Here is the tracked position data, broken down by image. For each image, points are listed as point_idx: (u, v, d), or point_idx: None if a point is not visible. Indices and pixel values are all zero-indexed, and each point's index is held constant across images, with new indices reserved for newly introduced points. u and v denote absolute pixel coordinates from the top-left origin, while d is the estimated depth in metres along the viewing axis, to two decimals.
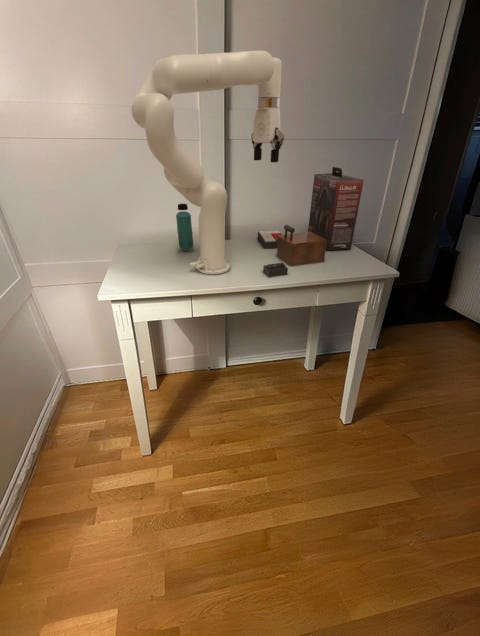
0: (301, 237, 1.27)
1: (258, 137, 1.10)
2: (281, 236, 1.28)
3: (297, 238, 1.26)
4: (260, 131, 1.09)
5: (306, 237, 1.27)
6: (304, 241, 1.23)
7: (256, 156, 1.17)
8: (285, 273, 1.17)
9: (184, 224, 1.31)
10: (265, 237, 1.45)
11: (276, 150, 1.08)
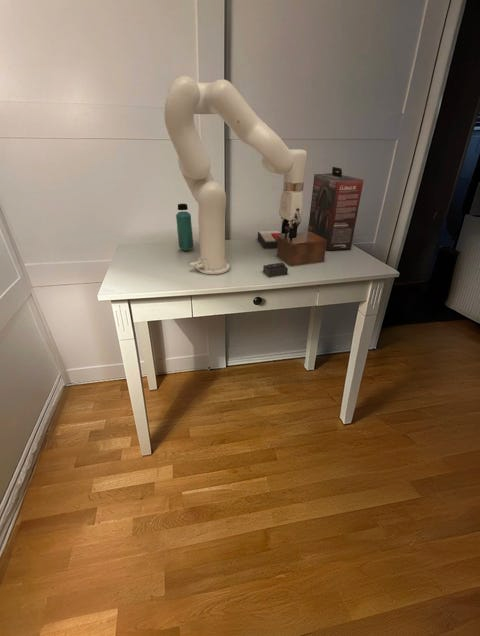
0: (301, 237, 1.27)
1: (282, 213, 1.20)
2: (281, 236, 1.28)
3: (297, 238, 1.26)
4: (284, 209, 1.19)
5: (306, 237, 1.27)
6: (304, 241, 1.23)
7: (283, 230, 1.26)
8: (285, 273, 1.17)
9: (184, 224, 1.31)
10: (265, 237, 1.45)
11: (294, 229, 1.19)
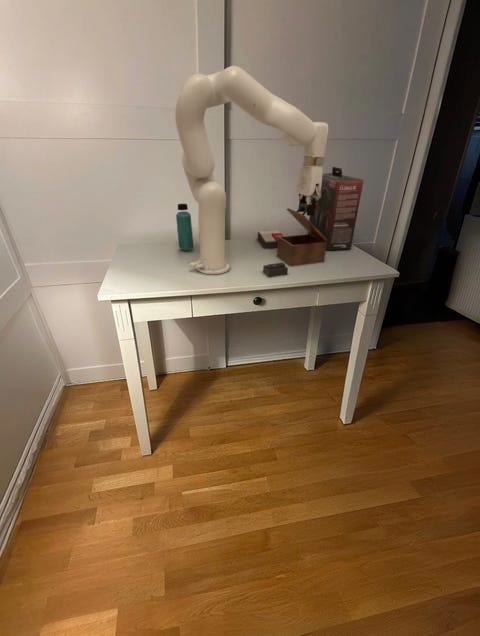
0: (307, 224, 1.25)
1: (301, 190, 1.18)
2: None
3: (305, 221, 1.23)
4: (303, 185, 1.17)
5: (311, 227, 1.26)
6: None
7: None
8: (285, 273, 1.17)
9: (184, 224, 1.31)
10: (265, 237, 1.45)
11: (312, 205, 1.17)
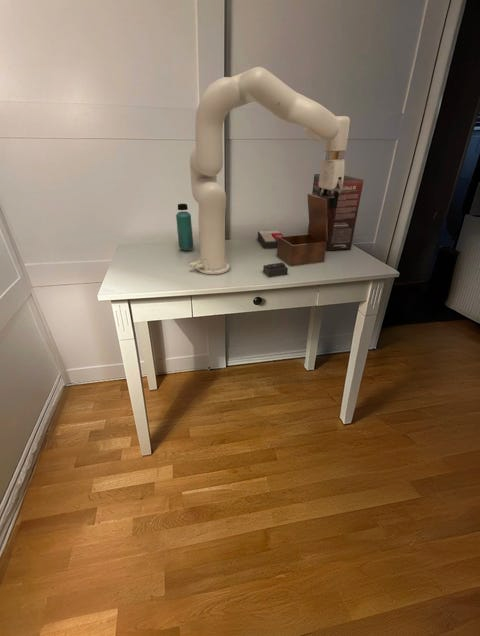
0: None
1: (322, 184, 1.20)
2: None
3: None
4: (325, 179, 1.19)
5: None
6: None
7: None
8: (285, 273, 1.17)
9: (184, 224, 1.31)
10: (265, 237, 1.45)
11: (335, 198, 1.19)
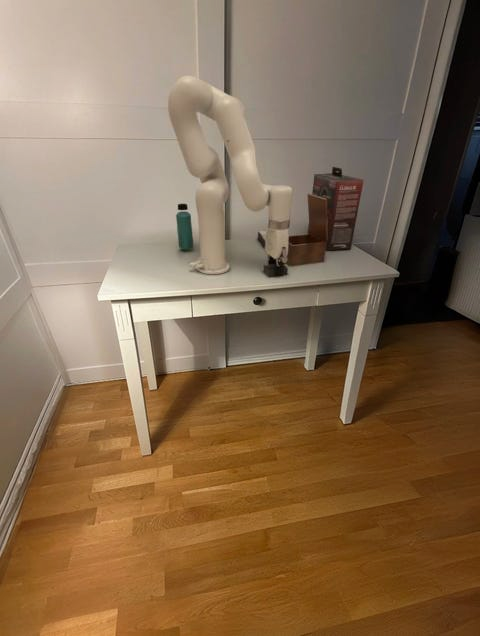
0: None
1: (268, 250, 1.14)
2: None
3: None
4: (269, 246, 1.12)
5: None
6: None
7: None
8: (285, 273, 1.17)
9: (184, 224, 1.31)
10: (265, 237, 1.45)
11: (280, 267, 1.13)
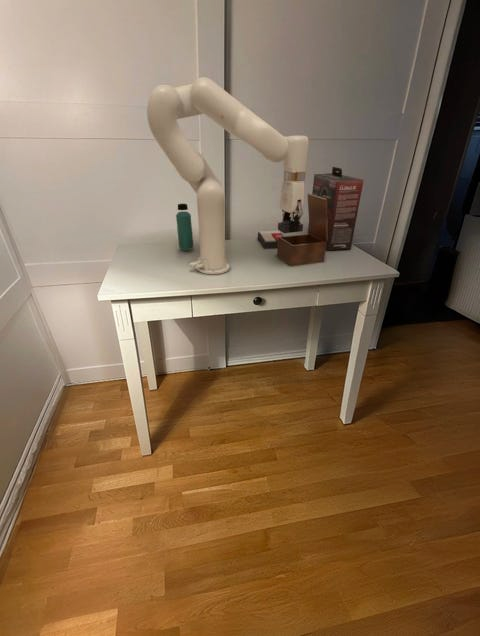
0: None
1: (283, 205, 1.12)
2: None
3: None
4: (284, 200, 1.11)
5: None
6: None
7: None
8: (300, 230, 1.15)
9: (184, 224, 1.31)
10: (265, 237, 1.45)
11: (295, 222, 1.11)
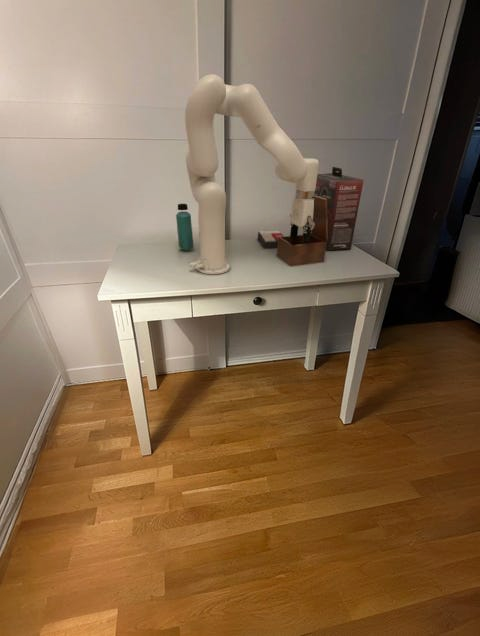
0: None
1: (293, 220, 1.23)
2: None
3: None
4: (295, 216, 1.22)
5: None
6: None
7: (292, 233, 1.30)
8: None
9: (184, 224, 1.31)
10: (265, 237, 1.45)
11: (307, 234, 1.21)
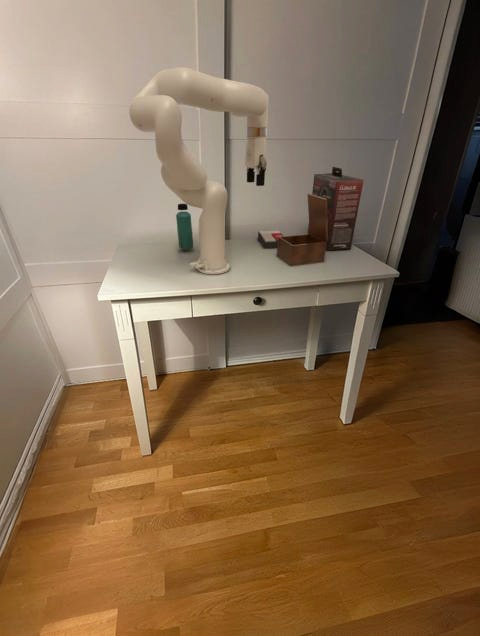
0: None
1: (247, 162, 1.19)
2: None
3: None
4: (249, 157, 1.18)
5: None
6: None
7: (249, 178, 1.26)
8: None
9: (184, 224, 1.31)
10: (265, 237, 1.45)
11: (261, 175, 1.17)
